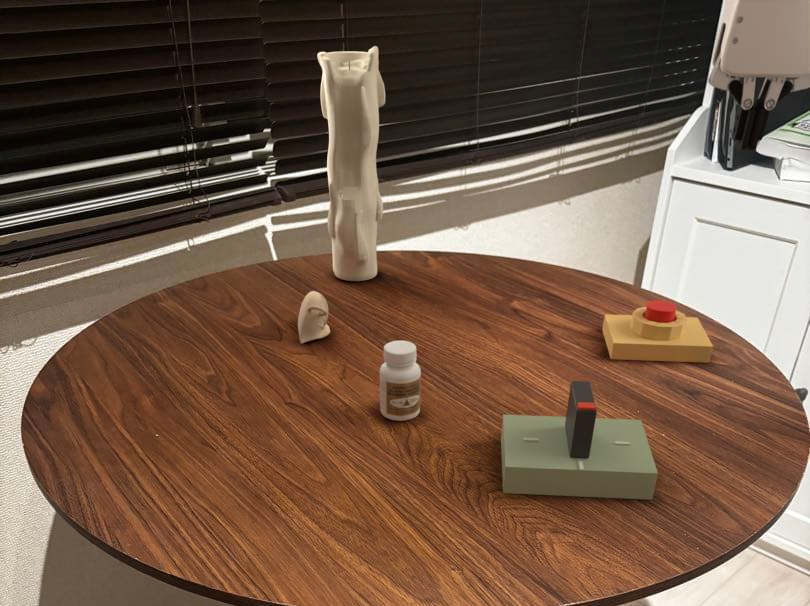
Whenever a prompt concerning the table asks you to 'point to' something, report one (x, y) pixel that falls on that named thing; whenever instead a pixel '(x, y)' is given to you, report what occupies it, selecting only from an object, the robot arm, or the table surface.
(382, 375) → the pill bottle
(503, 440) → the block
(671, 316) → the button
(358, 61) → the vase
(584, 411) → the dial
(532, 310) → the table surface
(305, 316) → the decorative ornament
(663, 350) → the button block
